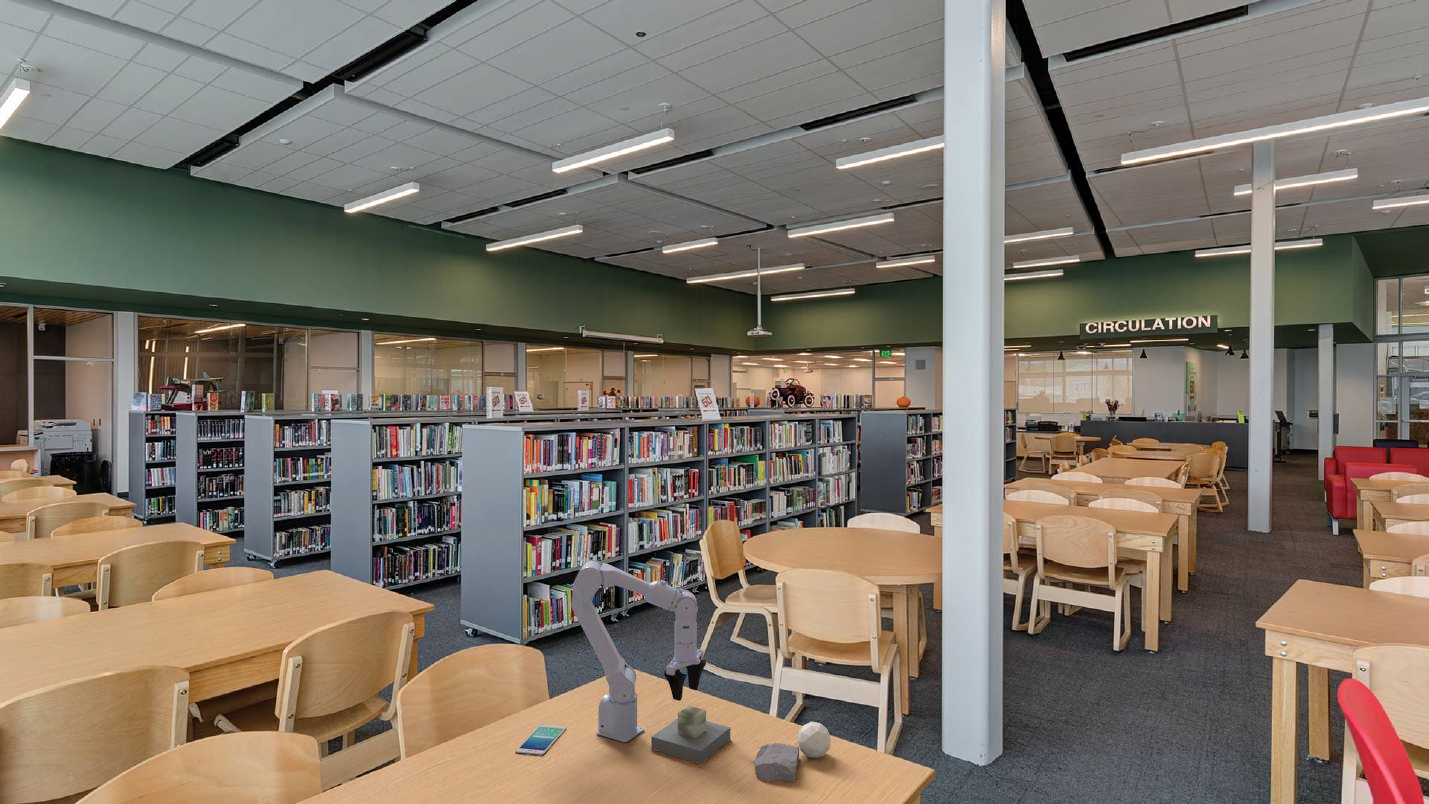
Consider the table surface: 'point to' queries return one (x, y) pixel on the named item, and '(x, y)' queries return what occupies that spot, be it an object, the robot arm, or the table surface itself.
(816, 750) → the geometric ball
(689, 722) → the sage green cube
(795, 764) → the stone block
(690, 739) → the stacking base
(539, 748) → the smartphone
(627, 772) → the table surface
